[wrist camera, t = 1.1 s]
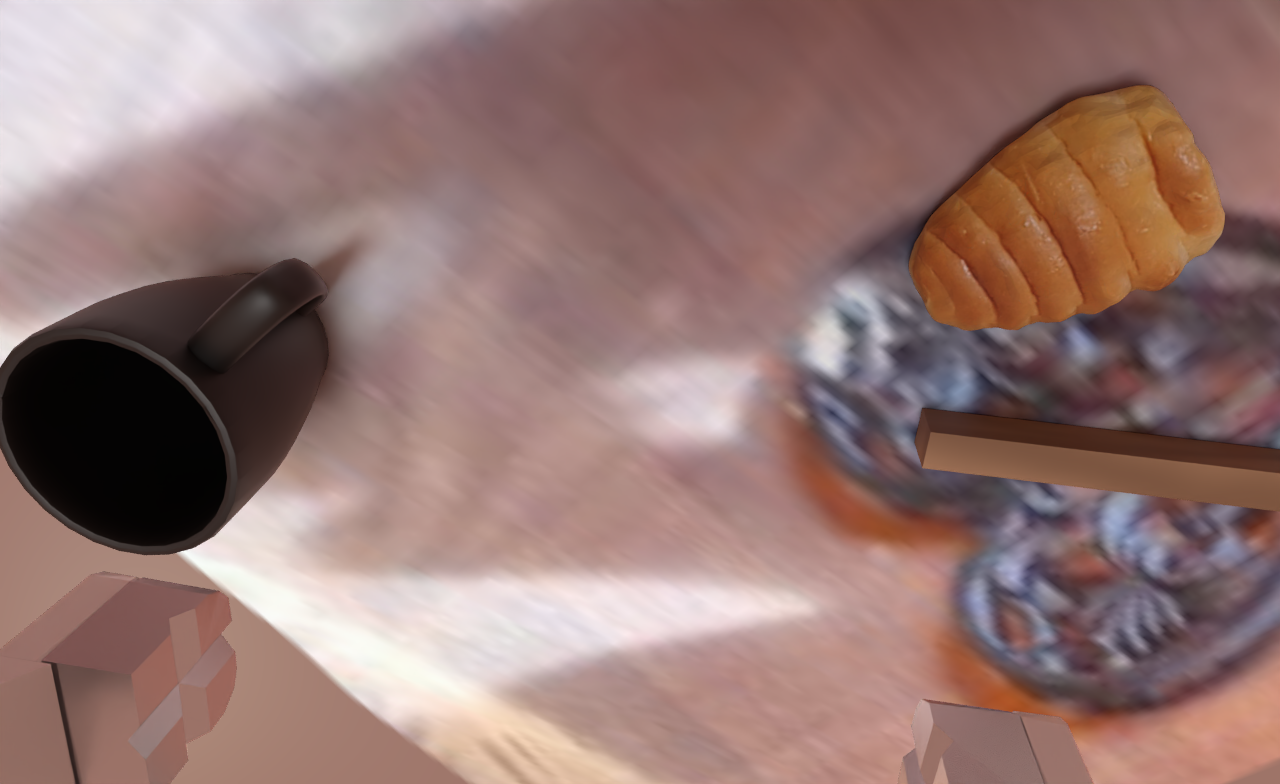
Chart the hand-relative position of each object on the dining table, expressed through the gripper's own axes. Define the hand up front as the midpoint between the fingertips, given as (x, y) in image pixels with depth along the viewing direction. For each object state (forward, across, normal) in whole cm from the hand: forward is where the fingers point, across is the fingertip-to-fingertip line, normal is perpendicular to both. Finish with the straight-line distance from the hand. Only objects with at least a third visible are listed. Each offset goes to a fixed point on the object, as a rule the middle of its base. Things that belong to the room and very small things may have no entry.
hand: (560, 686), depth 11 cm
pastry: (+25, -12, -2) cm, 28 cm away
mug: (+25, +16, +5) cm, 30 cm away
